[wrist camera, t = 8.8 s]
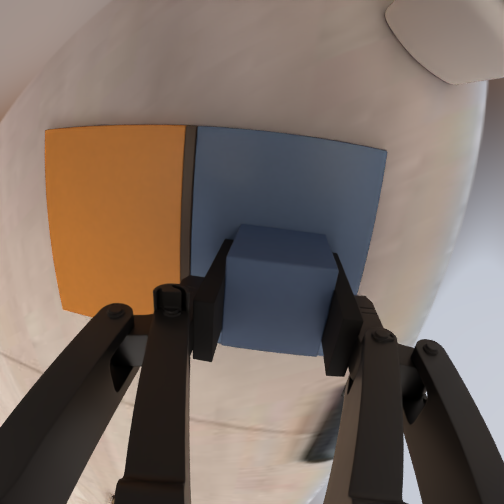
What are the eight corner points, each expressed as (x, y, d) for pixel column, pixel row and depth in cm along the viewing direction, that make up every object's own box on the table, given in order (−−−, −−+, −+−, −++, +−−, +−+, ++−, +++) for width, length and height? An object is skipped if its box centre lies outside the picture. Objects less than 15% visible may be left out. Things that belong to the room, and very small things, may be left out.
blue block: (240, 223, 17) (226, 255, 12) (326, 234, 16) (339, 270, 12) (234, 298, 18) (220, 345, 14) (311, 307, 18) (317, 357, 14)
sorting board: (50, 129, 16) (43, 129, 15) (384, 150, 15) (388, 151, 14) (66, 305, 21) (61, 310, 20) (337, 351, 20) (338, 358, 19)
